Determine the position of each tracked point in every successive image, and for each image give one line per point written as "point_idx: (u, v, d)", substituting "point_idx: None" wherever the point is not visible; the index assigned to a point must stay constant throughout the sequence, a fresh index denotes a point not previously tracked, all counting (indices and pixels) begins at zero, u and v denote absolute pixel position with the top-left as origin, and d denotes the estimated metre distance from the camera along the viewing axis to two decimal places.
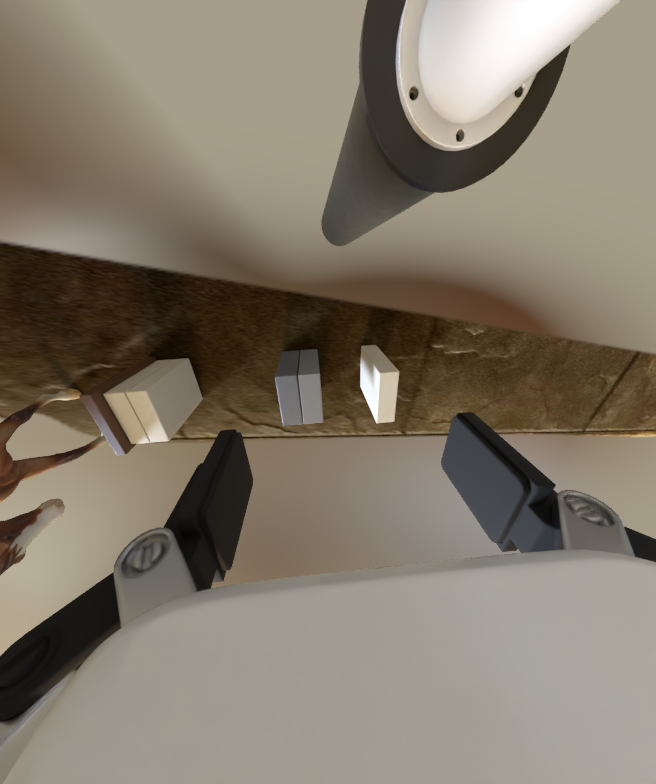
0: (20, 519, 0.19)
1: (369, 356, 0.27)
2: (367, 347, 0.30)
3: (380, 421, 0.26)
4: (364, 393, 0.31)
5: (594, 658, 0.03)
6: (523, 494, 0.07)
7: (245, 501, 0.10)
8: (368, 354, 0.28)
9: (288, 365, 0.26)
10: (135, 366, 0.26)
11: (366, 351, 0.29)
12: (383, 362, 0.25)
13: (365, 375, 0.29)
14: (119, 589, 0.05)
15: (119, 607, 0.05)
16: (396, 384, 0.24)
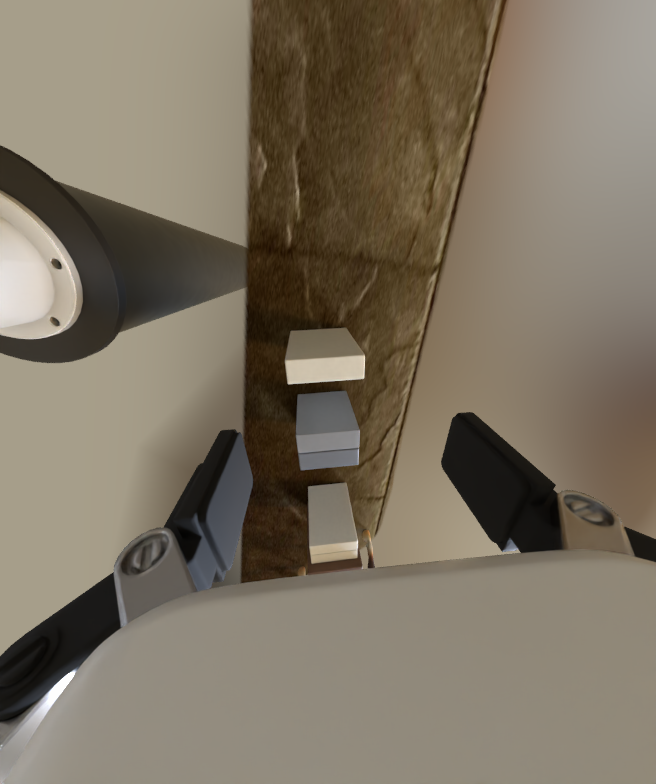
0: None
1: None
2: None
3: (361, 374, 0.18)
4: None
5: (595, 658, 0.03)
6: (523, 494, 0.07)
7: (245, 501, 0.10)
8: None
9: None
10: (307, 524, 0.35)
11: None
12: None
13: None
14: (119, 589, 0.05)
15: (118, 608, 0.05)
16: (303, 361, 0.17)
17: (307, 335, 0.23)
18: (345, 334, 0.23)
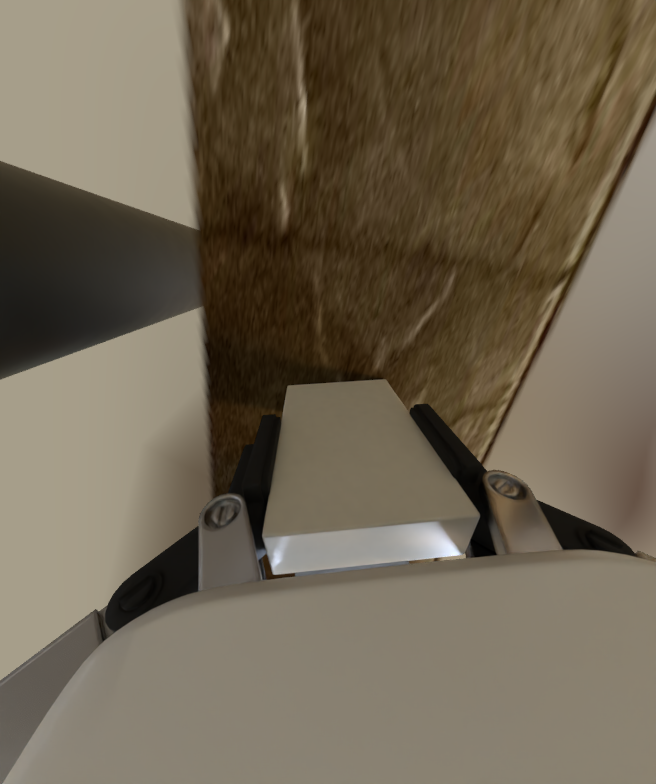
0: None
1: None
2: None
3: (462, 548, 0.07)
4: None
5: (595, 658, 0.03)
6: (456, 474, 0.08)
7: None
8: None
9: None
10: None
11: None
12: None
13: None
14: (201, 536, 0.06)
15: (198, 551, 0.06)
16: (315, 535, 0.06)
17: (318, 402, 0.12)
18: (392, 403, 0.12)
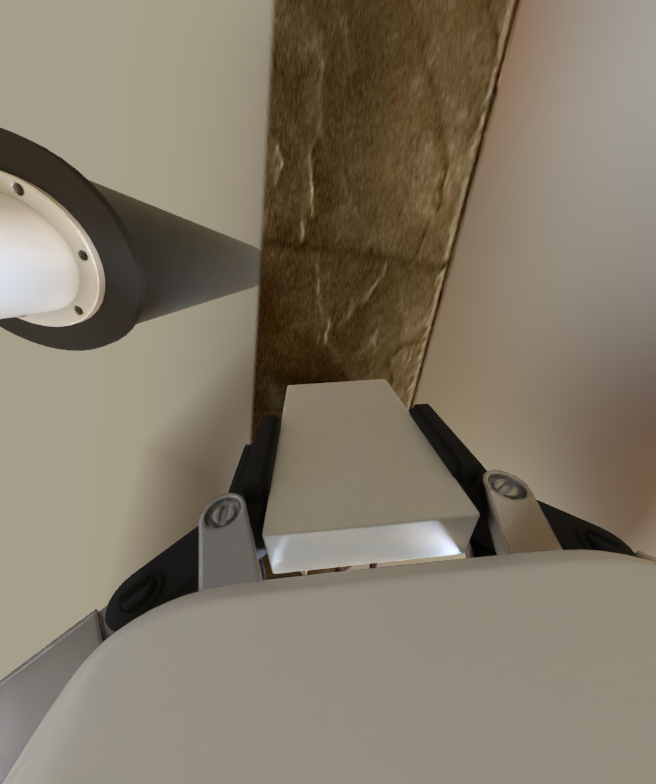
0: None
1: None
2: None
3: (461, 547, 0.07)
4: None
5: (594, 658, 0.03)
6: (456, 474, 0.08)
7: None
8: None
9: None
10: None
11: None
12: None
13: None
14: (201, 536, 0.06)
15: (199, 552, 0.06)
16: (315, 534, 0.06)
17: (318, 402, 0.12)
18: (392, 402, 0.12)
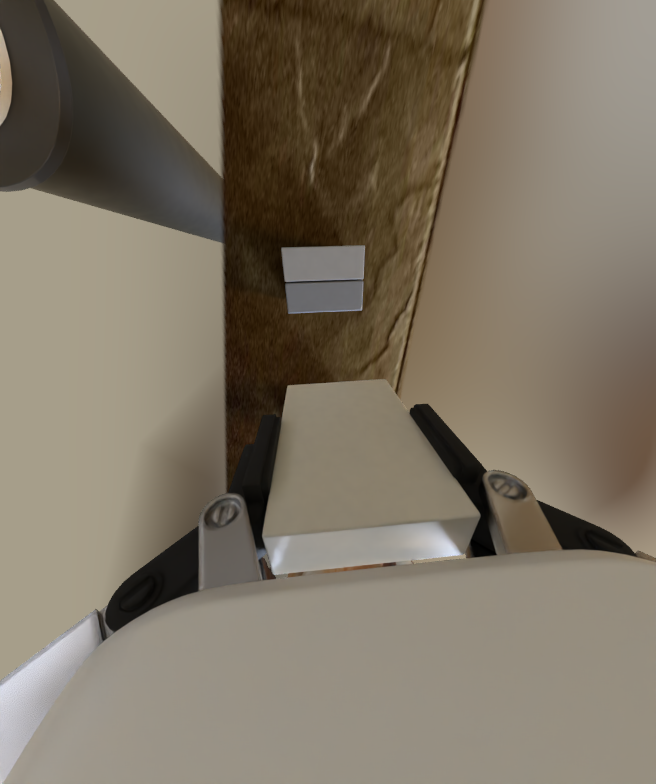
0: None
1: None
2: None
3: (462, 548, 0.07)
4: None
5: (595, 658, 0.03)
6: (456, 474, 0.08)
7: None
8: None
9: None
10: None
11: None
12: None
13: None
14: (201, 536, 0.06)
15: (199, 552, 0.06)
16: (315, 535, 0.06)
17: (318, 402, 0.12)
18: (392, 402, 0.12)
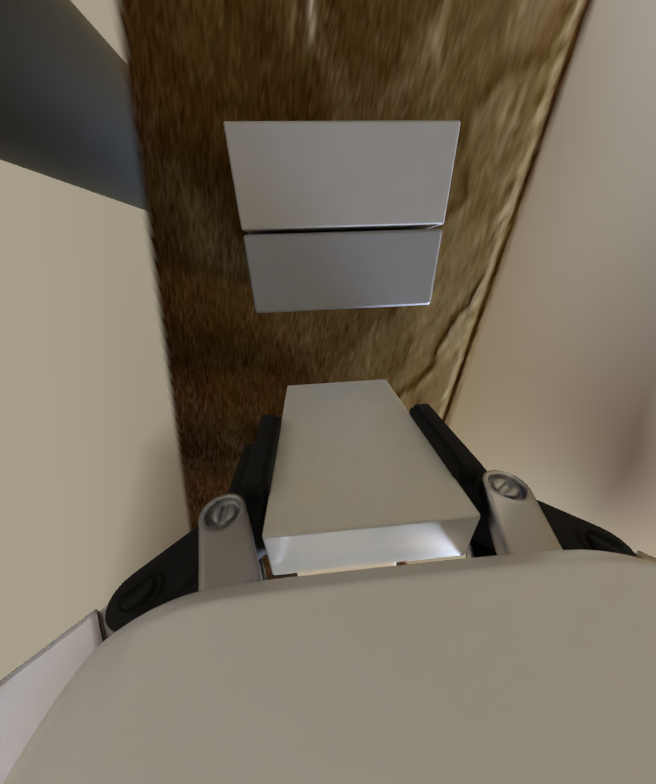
0: None
1: None
2: None
3: (462, 548, 0.07)
4: None
5: (594, 657, 0.03)
6: (456, 474, 0.08)
7: None
8: None
9: None
10: None
11: None
12: None
13: None
14: (201, 536, 0.06)
15: (198, 552, 0.06)
16: (315, 536, 0.06)
17: (318, 403, 0.12)
18: (392, 403, 0.12)
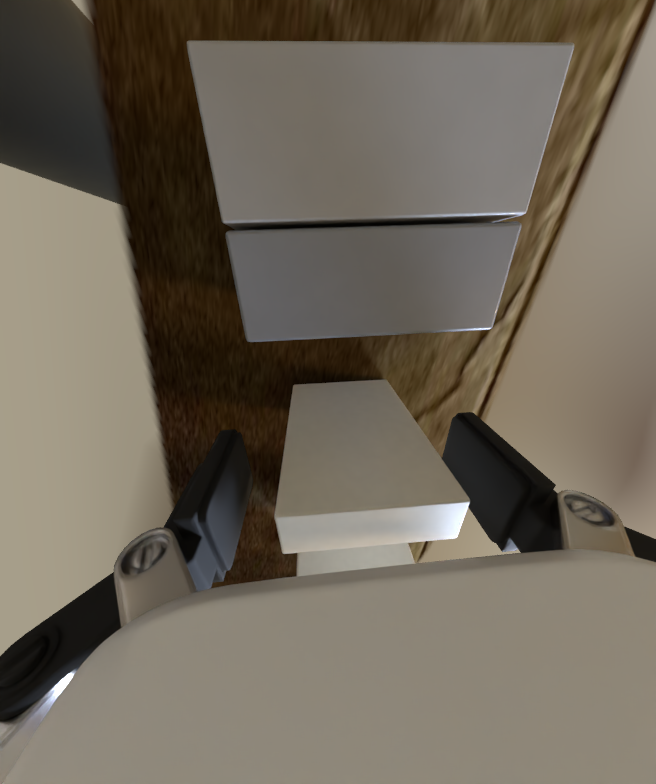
0: None
1: None
2: None
3: (454, 531, 0.08)
4: None
5: (594, 659, 0.03)
6: (523, 494, 0.07)
7: (245, 501, 0.10)
8: None
9: None
10: None
11: None
12: None
13: None
14: (119, 589, 0.05)
15: (118, 608, 0.05)
16: (322, 516, 0.07)
17: (323, 400, 0.13)
18: (392, 401, 0.13)
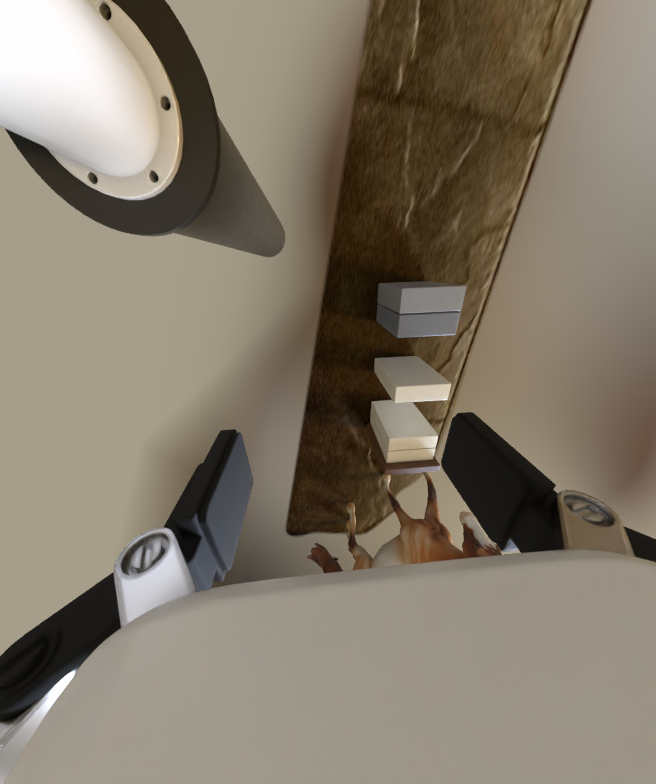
0: (466, 535, 0.27)
1: (382, 383, 0.30)
2: (375, 369, 0.32)
3: (446, 396, 0.26)
4: None
5: (595, 658, 0.03)
6: (523, 494, 0.07)
7: (245, 501, 0.10)
8: (380, 380, 0.30)
9: (389, 320, 0.25)
10: (371, 437, 0.35)
11: (378, 376, 0.31)
12: (387, 383, 0.27)
13: None
14: (119, 589, 0.05)
15: (119, 608, 0.05)
16: (409, 387, 0.25)
17: (392, 363, 0.30)
18: (422, 363, 0.30)
